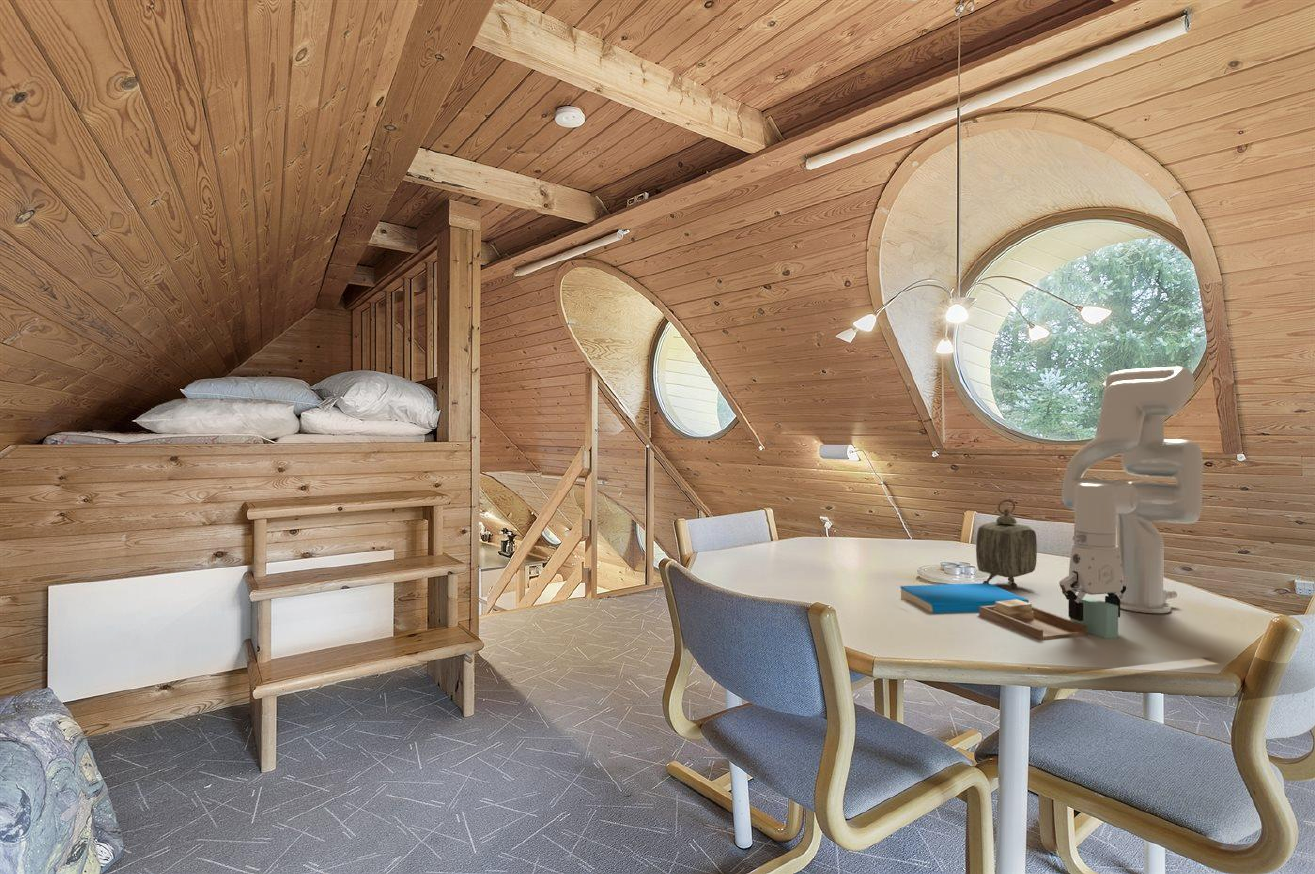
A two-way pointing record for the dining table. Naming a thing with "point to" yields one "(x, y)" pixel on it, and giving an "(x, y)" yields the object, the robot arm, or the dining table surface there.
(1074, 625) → the tray
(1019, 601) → the offcut top
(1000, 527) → the tabletop clock
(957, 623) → the dining table surface
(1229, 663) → the dining table surface
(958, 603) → the book
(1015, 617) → the offcut low
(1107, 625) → the block
